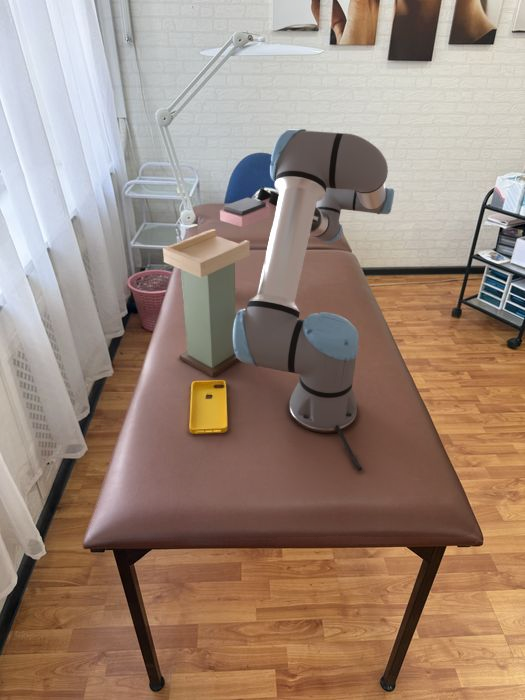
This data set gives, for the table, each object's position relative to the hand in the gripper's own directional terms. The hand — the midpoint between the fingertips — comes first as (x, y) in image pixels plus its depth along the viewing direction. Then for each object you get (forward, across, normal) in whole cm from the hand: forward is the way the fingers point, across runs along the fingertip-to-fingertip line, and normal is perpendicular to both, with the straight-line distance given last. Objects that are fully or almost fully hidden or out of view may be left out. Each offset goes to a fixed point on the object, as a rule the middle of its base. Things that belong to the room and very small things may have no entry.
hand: (265, 195), depth 125 cm
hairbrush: (+1, 0, -5) cm, 5 cm away
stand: (-1, 0, -43) cm, 43 cm away
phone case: (+12, -13, -51) cm, 54 cm away
